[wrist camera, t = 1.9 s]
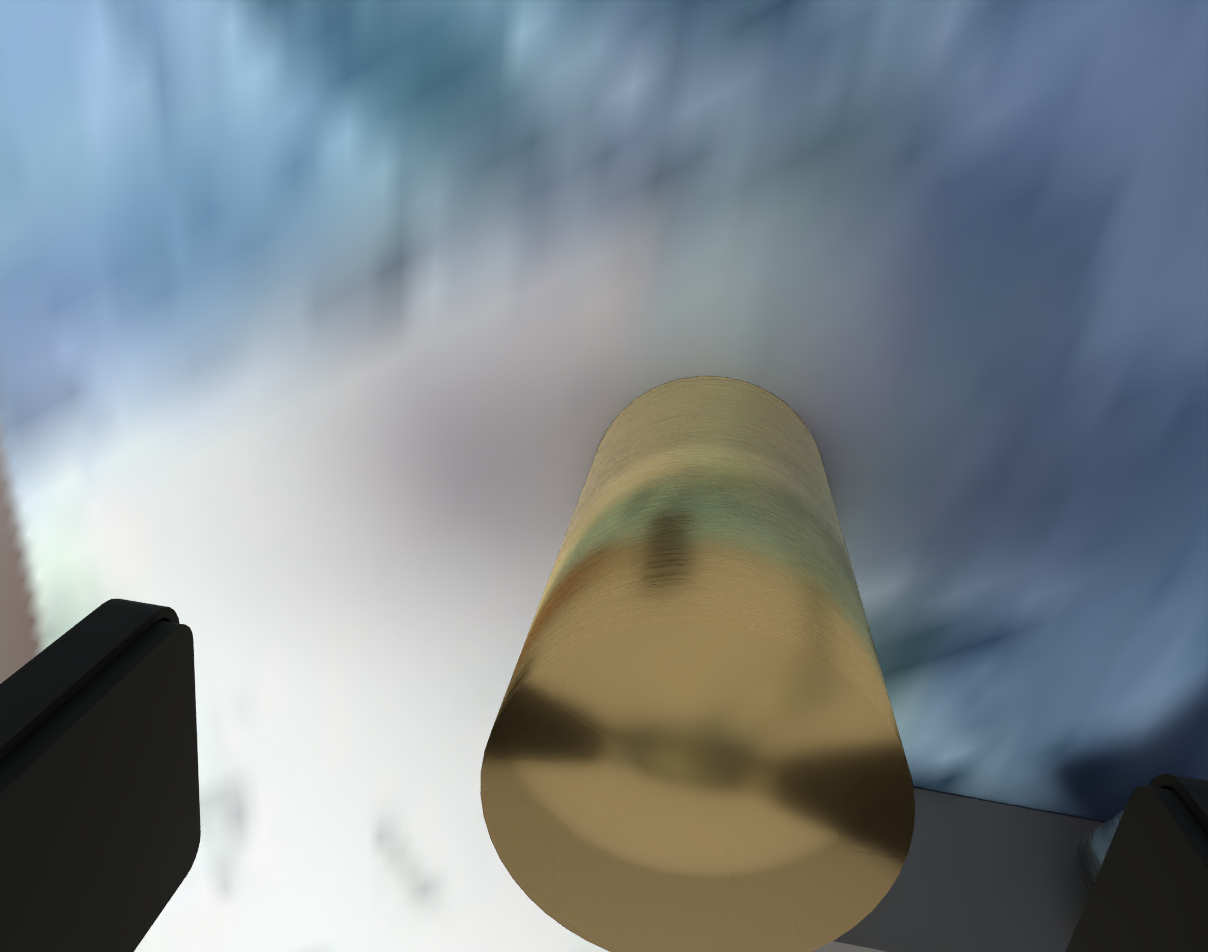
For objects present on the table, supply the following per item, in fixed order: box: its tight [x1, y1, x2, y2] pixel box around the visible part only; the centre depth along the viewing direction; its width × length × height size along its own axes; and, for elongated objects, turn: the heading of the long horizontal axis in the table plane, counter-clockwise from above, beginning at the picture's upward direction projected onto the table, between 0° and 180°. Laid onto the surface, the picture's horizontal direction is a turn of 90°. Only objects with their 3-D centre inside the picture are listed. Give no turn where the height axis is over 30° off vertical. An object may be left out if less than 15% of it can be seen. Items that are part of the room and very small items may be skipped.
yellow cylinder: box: [481, 376, 915, 952], centre depth 12 cm, size 4×4×8 cm
